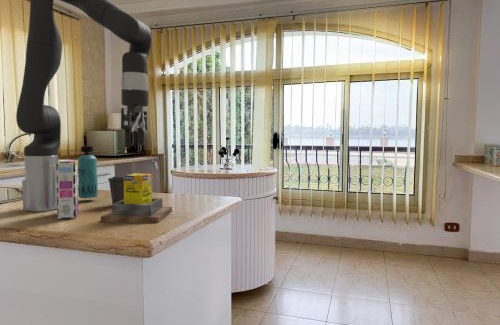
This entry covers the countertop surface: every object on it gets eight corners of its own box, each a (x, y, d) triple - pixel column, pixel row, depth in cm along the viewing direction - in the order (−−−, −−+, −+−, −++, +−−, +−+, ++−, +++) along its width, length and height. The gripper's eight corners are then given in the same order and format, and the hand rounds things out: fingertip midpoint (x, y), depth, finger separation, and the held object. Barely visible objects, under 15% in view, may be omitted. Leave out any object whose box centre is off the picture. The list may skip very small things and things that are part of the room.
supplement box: (143, 213, 98) (142, 175, 97) (123, 212, 99) (122, 175, 98) (152, 209, 104) (151, 173, 103) (134, 208, 105) (133, 172, 104)
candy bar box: (77, 218, 98) (75, 161, 97) (57, 220, 96) (55, 161, 95) (79, 211, 108) (77, 158, 107) (61, 212, 106) (59, 159, 105)
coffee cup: (133, 202, 123) (133, 174, 122) (133, 206, 115) (132, 177, 115) (109, 203, 120) (108, 175, 120) (107, 208, 113) (106, 177, 112)
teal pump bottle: (85, 198, 129) (83, 145, 128) (102, 199, 128) (100, 145, 127) (74, 202, 123) (72, 146, 121) (91, 202, 122) (90, 146, 120)
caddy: (100, 221, 95) (100, 205, 94) (121, 210, 109) (121, 196, 108) (158, 222, 94) (158, 206, 94) (171, 211, 108) (171, 197, 108)
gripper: (132, 92, 108) (132, 144, 109) (111, 86, 94) (112, 145, 95) (155, 93, 108) (155, 144, 109) (138, 86, 94) (138, 146, 95)
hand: (135, 145), depth 102 cm, fingers open, 8 cm apart
